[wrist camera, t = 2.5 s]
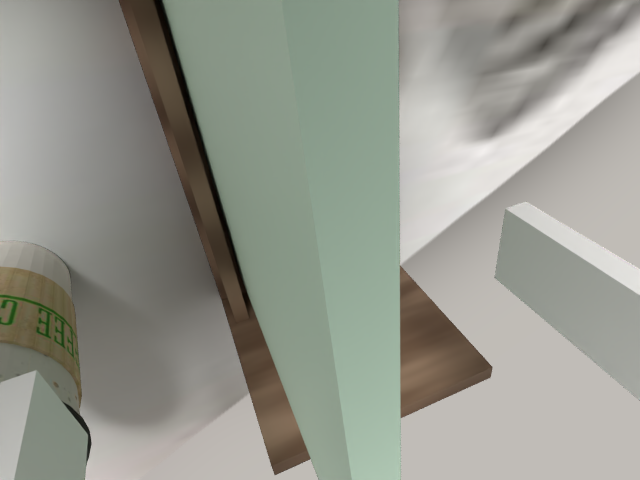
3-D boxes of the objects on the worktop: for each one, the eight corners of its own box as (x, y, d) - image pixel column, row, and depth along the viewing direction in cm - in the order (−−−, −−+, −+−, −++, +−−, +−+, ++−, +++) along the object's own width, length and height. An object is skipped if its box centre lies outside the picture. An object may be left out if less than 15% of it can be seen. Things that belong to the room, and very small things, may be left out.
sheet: (116, -147, 19) (88, -1310, 2) (144, -149, 19) (392, -1153, 2) (239, 272, 33) (372, 620, 16) (254, 267, 33) (401, 603, 16)
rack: (39, -234, 18) (-134, -648, 5) (349, -246, 21) (667, -522, 9) (221, 297, 35) (274, 475, 23) (374, 245, 38) (490, 377, 26)
